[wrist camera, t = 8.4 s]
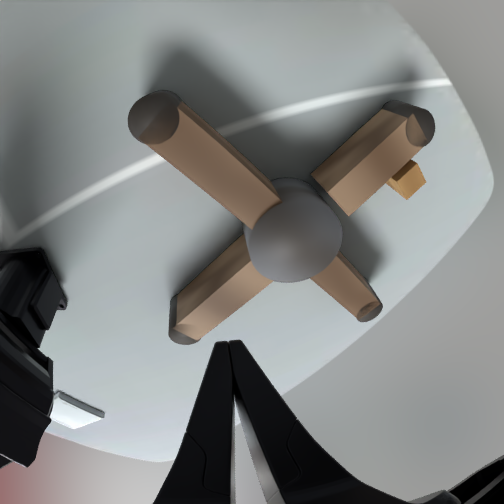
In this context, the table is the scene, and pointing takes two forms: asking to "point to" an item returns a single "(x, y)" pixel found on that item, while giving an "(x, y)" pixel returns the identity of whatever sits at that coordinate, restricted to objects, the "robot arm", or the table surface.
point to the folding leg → (375, 154)
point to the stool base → (253, 222)
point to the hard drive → (73, 412)
